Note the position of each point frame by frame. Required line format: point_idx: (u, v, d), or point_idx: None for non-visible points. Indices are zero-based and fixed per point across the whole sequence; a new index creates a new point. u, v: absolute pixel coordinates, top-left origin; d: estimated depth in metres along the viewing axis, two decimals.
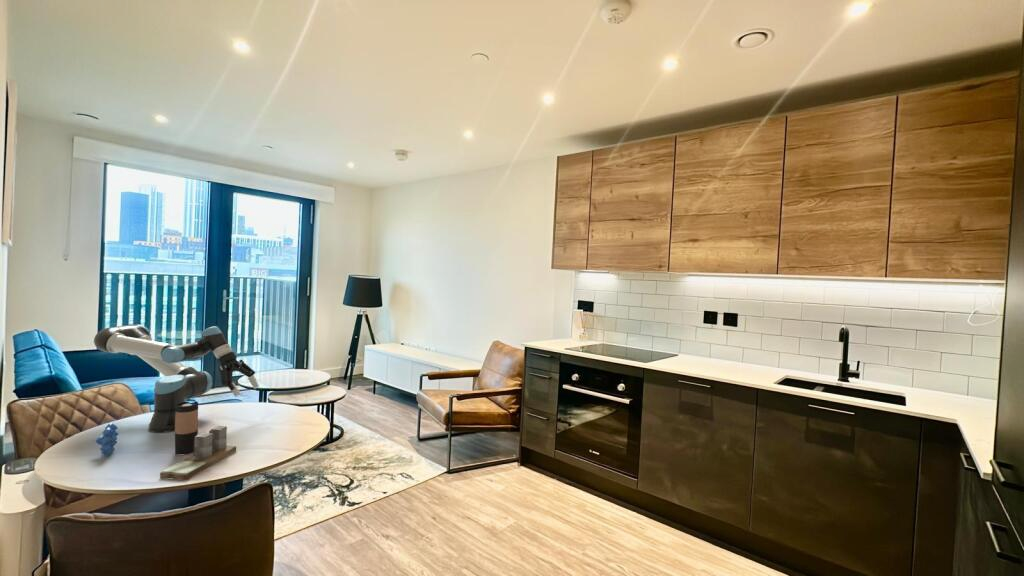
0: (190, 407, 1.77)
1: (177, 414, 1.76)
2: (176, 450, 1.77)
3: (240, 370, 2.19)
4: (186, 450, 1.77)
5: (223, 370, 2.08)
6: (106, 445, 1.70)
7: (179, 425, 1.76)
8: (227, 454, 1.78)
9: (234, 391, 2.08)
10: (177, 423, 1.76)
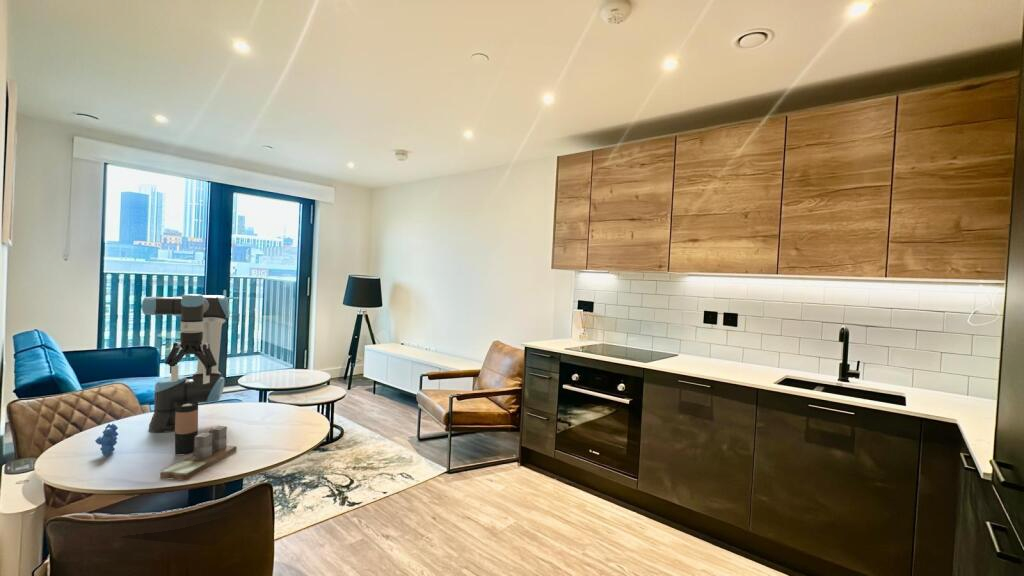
0: (190, 407, 1.77)
1: (177, 414, 1.76)
2: (176, 450, 1.77)
3: None
4: (186, 450, 1.77)
5: None
6: (106, 445, 1.70)
7: (179, 425, 1.76)
8: (227, 454, 1.78)
9: None
10: (177, 423, 1.76)
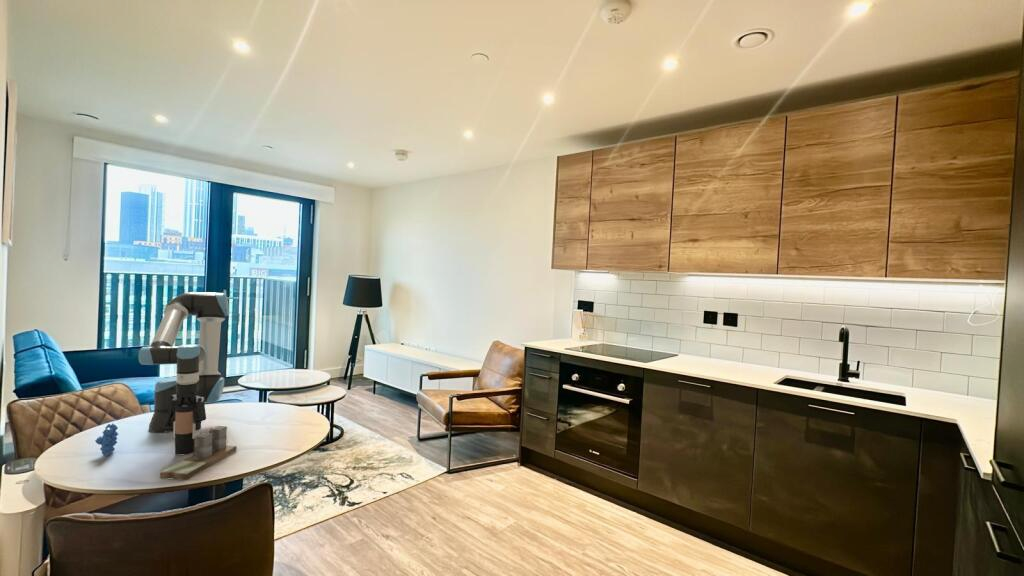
0: (190, 407, 1.77)
1: (177, 414, 1.76)
2: (176, 450, 1.77)
3: None
4: (186, 450, 1.77)
5: None
6: (106, 445, 1.70)
7: (179, 425, 1.76)
8: (227, 454, 1.78)
9: None
10: (177, 423, 1.76)
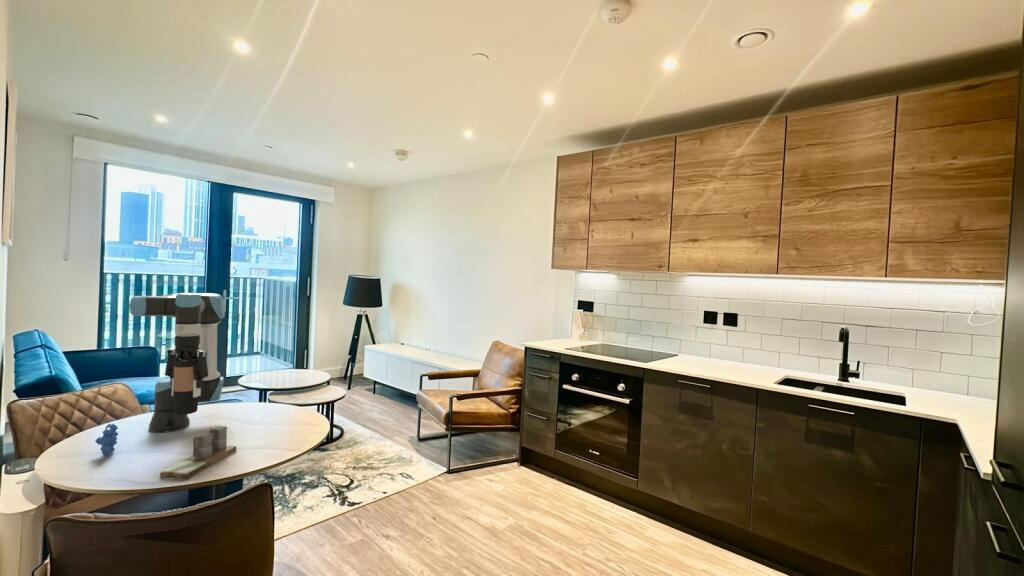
0: (190, 362, 1.59)
1: (176, 369, 1.58)
2: (175, 410, 1.58)
3: None
4: (186, 410, 1.59)
5: None
6: (106, 445, 1.70)
7: (178, 381, 1.57)
8: (227, 454, 1.78)
9: None
10: (176, 379, 1.58)
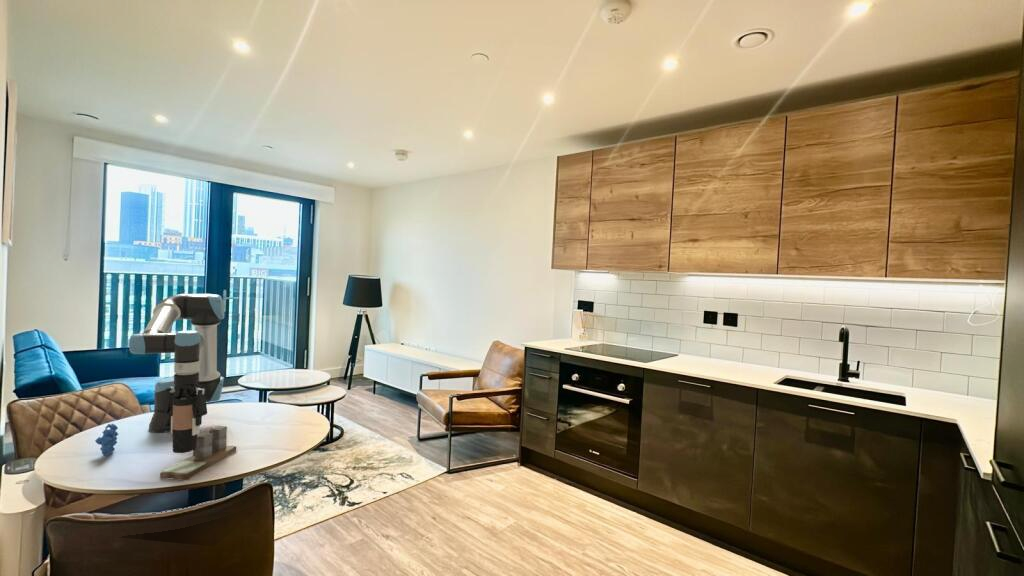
0: (189, 400, 1.59)
1: (175, 408, 1.58)
2: (174, 448, 1.59)
3: None
4: (185, 448, 1.59)
5: None
6: (106, 445, 1.70)
7: (177, 420, 1.58)
8: (227, 454, 1.78)
9: None
10: (175, 418, 1.58)
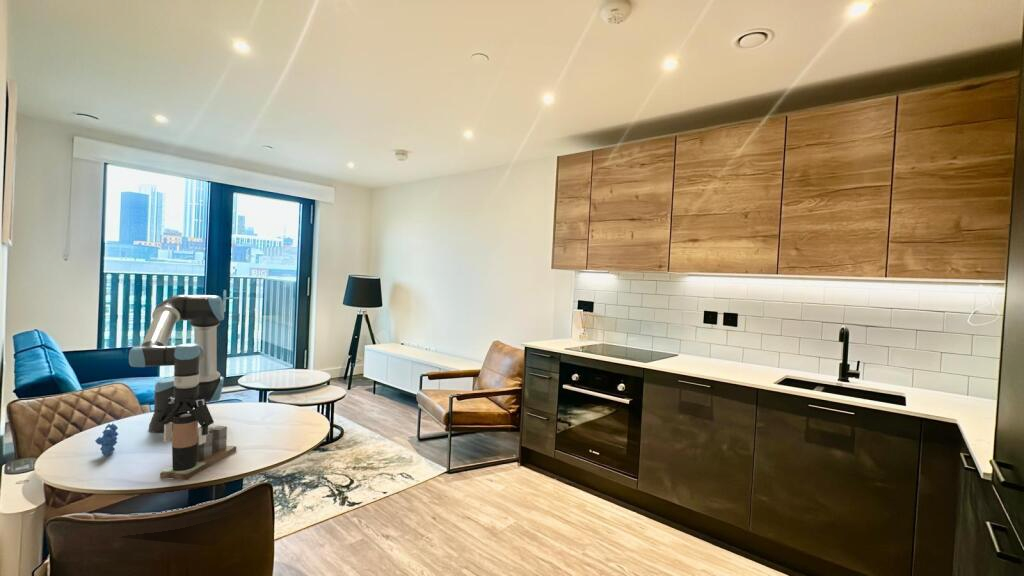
0: (189, 418, 1.60)
1: (174, 426, 1.58)
2: (173, 466, 1.59)
3: None
4: (185, 466, 1.60)
5: None
6: (106, 445, 1.70)
7: (177, 438, 1.58)
8: (227, 454, 1.78)
9: None
10: (175, 436, 1.58)
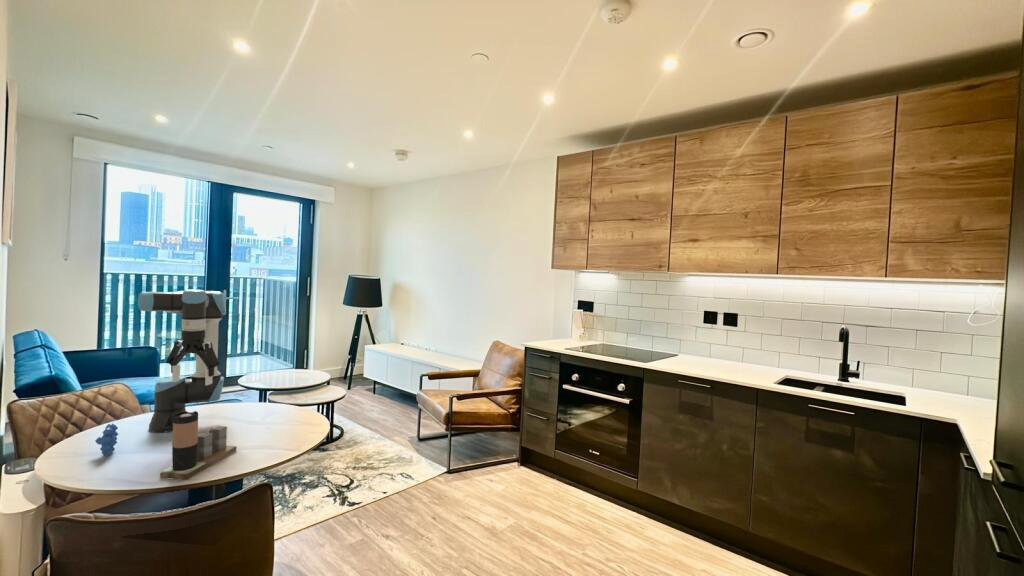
0: (189, 418, 1.60)
1: (175, 426, 1.58)
2: (174, 466, 1.59)
3: None
4: (185, 466, 1.60)
5: None
6: (106, 445, 1.70)
7: (177, 438, 1.58)
8: (227, 454, 1.78)
9: None
10: (175, 436, 1.58)
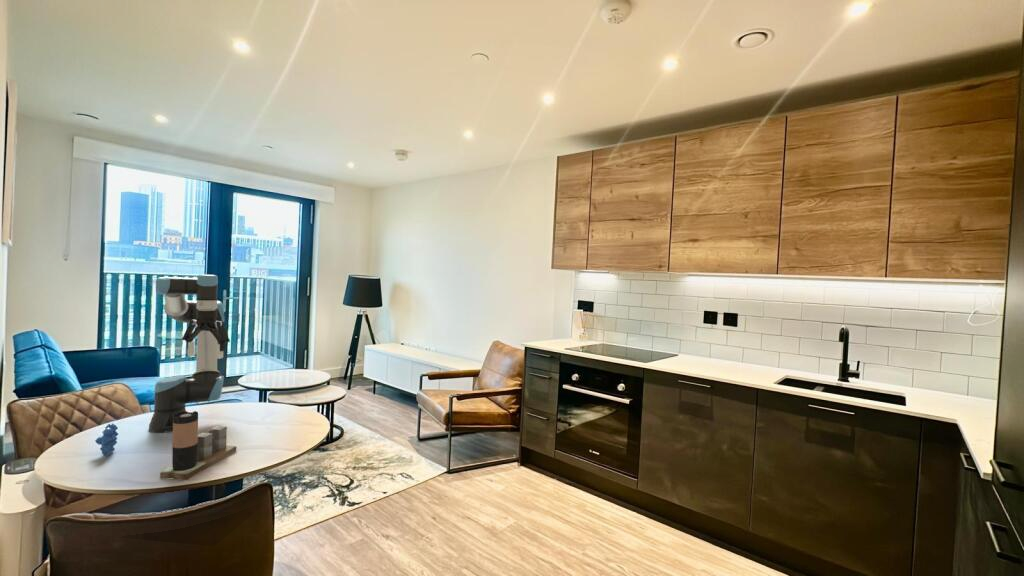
0: (189, 418, 1.60)
1: (175, 426, 1.58)
2: (174, 466, 1.59)
3: None
4: (185, 466, 1.60)
5: None
6: (106, 445, 1.70)
7: (177, 438, 1.58)
8: (227, 454, 1.78)
9: None
10: (175, 436, 1.58)
